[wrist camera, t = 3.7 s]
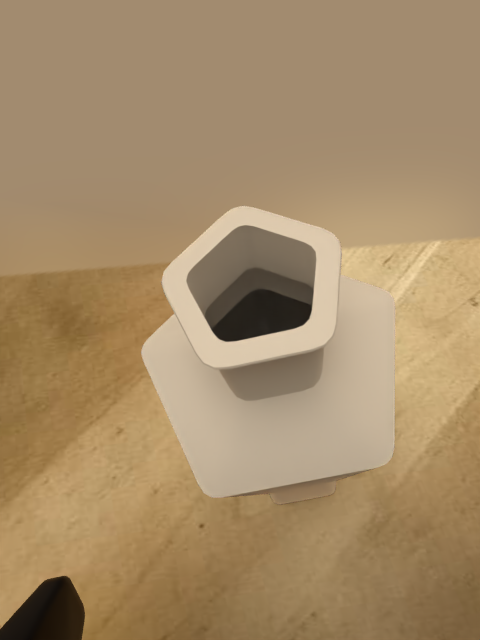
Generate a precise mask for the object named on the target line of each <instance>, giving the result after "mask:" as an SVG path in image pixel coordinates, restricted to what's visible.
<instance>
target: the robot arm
mask: <svg viewBox="0 0 480 640" xmlns="http://www.w3.org/2000/svg"><path fill="white" fill-rule="evenodd" d="M84 618H85V612H84V606H83V603H82V601H81V599H80V597H79V595H78V593H77V591H76V589H75V587H74V585H73V584H72V582H71V580H70V578H68V577H67V576H61V577H56V578H51V579H47V580H45V581H44V582H43V583H42V584H41V585H40V586H39V587H38V588H37V589H36V590H35V591H34V592H33V594H32V595H31V596H30V597H29V598H28V599H27V600H26V601H25V602H24V603H23V605H22V606H21V607H20V608H19V609H18V610H17V611H16V612H15V613H14V614H13V616H12V617H11V618H10V619H9V620H8V621H7V622H6V623H5V624H4V626H3V627H2V628H1V629H0V640H82V633H83V626H84Z"/></svg>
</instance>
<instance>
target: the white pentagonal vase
mask: <svg viewBox="0 0 480 640" xmlns="http://www.w3.org/2000/svg"><path fill="white" fill-rule="evenodd" d="M341 259H342V251H341V244H340V241H339V240H338V239H337V238H336V236H335V235H334V234H333V233H331V232H329V231H327V230H325V229H323V228H320V227H316V226H313V225H310V224H306V223H303V222H300V221H297V220H294V219H290V218H287V217H284V216H280V215H277V214H274V213H270V212H267V211H264V210H260V209H257V208H253V207H246V206H241V207H237V208H233V209H231V210H230V211H228V212H227V213H225V214H224V215H223V216H222V217H220V218H219V219H218V220H217V221H216V222H215V223H214V224H213V225H212V226H211V227H209V229H207V230H206V231H205V232H204V233H203V234H202V235H201V236H200V237H199V238H197V239H196V240H195V241H194V242H193V243H192V244H191V245H190V246H189V247H188V248H187V249H185V250H184V251H183V252H182V253H181V254H180V255H179V256H178V257H177V258H176V259H175V260H174V261H172V262H171V264H170V265H169V266H168V267H167V268H166V270H165V271H164V273H163V278H162V282H161V283H162V287H163V291H164V294H165V296H166V298H167V300H168V302H169V304H170V306H171V307H172V309H173V311H174V314H173V315H172V316H171V317H170V318H169V319H168V320H167V321H166V322H165V323H164V324H163V325H162V326H161V327H160V328H159V329H158V330H156V331H155V332H154V333H153V334H152V335H151V336H150V337H149V338H148V339H147V341H146V342H145V343H144V345H143V347H142V351H141V354H142V358H143V361H144V364H145V366H146V368H147V370H148V373H149V375H150V377H151V379H152V382H153V384H154V386H155V388H156V391H157V393H158V395H159V397H160V400H161V402H162V404H163V406H164V409H165V411H166V413H167V415H168V418H169V420H170V422H171V424H172V427H173V429H174V431H175V433H176V436H177V438H178V440H179V442H180V445H181V447H182V449H183V451H184V454H185V456H186V458H187V460H188V463H189V465H190V467H191V469H192V472H193V474H194V476H195V478H196V481H197V483H198V485H199V486H200V488H201V489H202V491H203V492H204V493H205V494H207V495H208V496H210V497H221V498H222V497H234V496H247V495H259V494H269V495H270V497H271V499H272V500H273V502H274V503H276V504H287V503H292V502H297V501H302V500H308V499H313V498H318V497H324V496H329V495H331V494H333V493H334V492H335V489H336V481H337V480H340V479H343V478H346V477H349V476H353V475H356V474H359V473H362V472H365V471H368V470H371V469H375V468H378V467H380V466H383V465H385V464H387V463H388V462H389V460H390V459H391V458H392V456H393V451H394V432H395V302H394V298H393V296H392V295H391V294H390V293H389V292H388V291H386V290H384V289H382V288H380V287H377V286H374V285H371V284H368V283H365V282H362V281H359V280H356V279H353V278H350V277H347V276H344V275H341Z"/></svg>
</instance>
